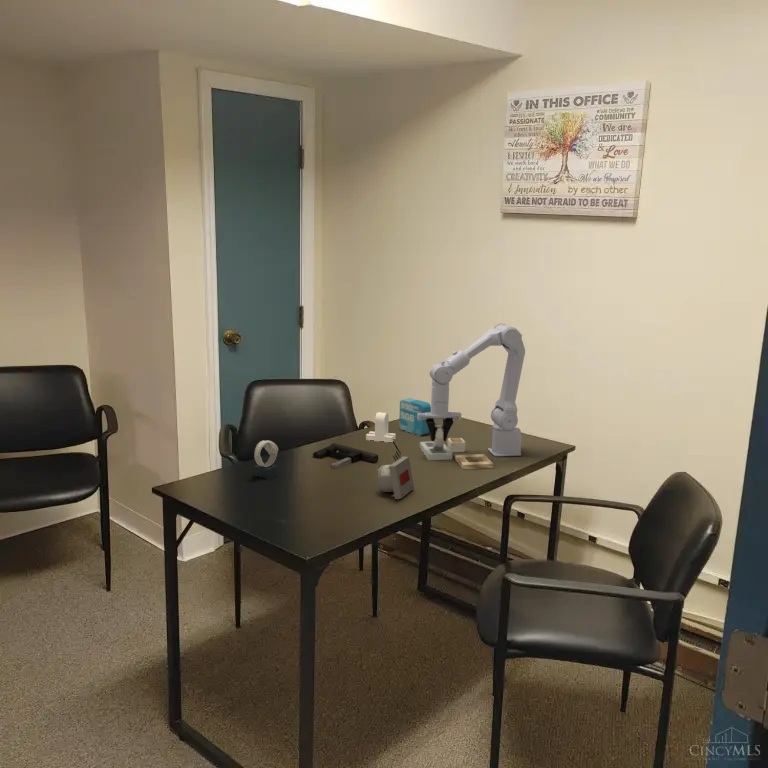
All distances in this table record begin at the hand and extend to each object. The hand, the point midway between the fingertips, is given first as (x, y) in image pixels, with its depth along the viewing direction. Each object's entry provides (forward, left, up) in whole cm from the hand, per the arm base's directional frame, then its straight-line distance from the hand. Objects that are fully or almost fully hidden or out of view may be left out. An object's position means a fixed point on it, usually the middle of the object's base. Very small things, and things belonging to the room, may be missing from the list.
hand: (438, 440), depth 239 cm
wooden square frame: (-10, +8, -6) cm, 14 cm away
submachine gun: (+32, 0, -6) cm, 33 cm away
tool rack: (0, -4, -6) cm, 7 cm away
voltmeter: (+19, +24, -6) cm, 31 cm away
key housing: (-8, -7, -6) cm, 12 cm away
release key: (-8, -7, -5) cm, 11 cm away
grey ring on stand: (+57, +12, -6) cm, 59 cm away
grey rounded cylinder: (0, 0, -3) cm, 3 cm away
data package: (+2, -30, -6) cm, 30 cm away
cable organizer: (+16, -22, -6) cm, 27 cm away
